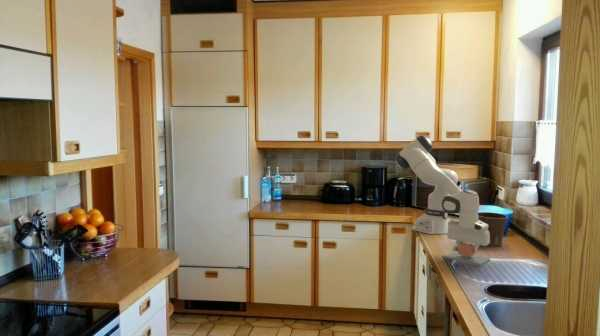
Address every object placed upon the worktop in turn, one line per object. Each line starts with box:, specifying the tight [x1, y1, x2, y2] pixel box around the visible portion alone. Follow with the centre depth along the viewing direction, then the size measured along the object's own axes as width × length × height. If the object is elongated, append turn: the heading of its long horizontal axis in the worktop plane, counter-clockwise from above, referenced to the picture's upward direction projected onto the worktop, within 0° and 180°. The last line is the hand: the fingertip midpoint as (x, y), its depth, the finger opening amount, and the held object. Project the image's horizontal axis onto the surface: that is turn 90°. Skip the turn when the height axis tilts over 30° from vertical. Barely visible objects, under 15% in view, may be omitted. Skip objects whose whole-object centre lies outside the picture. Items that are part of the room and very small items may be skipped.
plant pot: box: [478, 211, 509, 247], centre depth 253 cm, size 16×16×16 cm
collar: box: [458, 242, 477, 257], centre depth 224 cm, size 6×6×5 cm
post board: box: [443, 243, 491, 267], centre depth 224 cm, size 18×12×8 cm, turn 47°
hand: (467, 250), depth 224 cm, fingers closed on collar, 6 cm apart
